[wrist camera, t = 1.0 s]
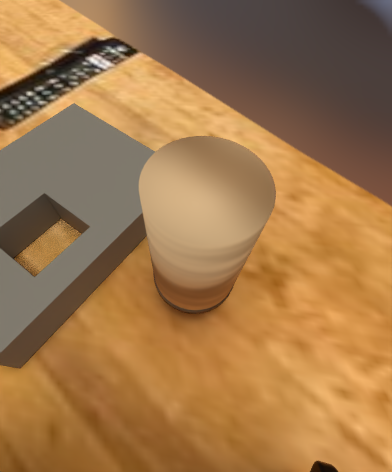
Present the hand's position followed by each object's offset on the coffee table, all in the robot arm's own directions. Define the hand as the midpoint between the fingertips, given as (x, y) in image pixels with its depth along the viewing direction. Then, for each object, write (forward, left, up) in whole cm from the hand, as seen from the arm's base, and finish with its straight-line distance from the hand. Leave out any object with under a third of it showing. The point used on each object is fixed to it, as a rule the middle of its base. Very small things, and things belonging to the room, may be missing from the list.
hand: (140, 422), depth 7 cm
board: (+5, +15, -12) cm, 20 cm away
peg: (+8, +3, -12) cm, 15 cm away
